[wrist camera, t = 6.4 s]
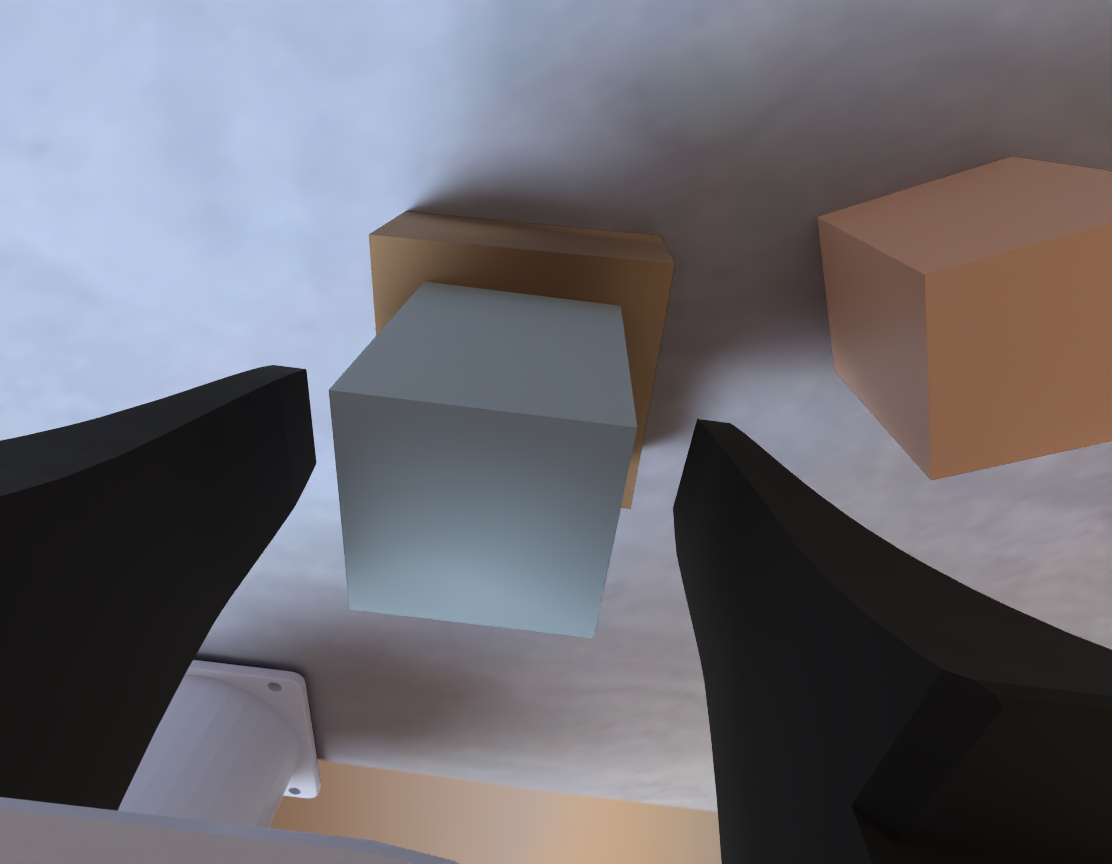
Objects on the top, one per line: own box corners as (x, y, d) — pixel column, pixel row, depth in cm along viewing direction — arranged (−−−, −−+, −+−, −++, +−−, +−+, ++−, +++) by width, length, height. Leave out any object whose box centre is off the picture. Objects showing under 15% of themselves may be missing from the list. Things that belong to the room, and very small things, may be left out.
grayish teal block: (424, 448, 14) (349, 609, 10) (424, 281, 12) (328, 390, 8) (592, 468, 14) (593, 638, 10) (620, 305, 12) (637, 428, 8)
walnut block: (418, 426, 17) (387, 485, 14) (409, 208, 14) (368, 234, 11) (624, 445, 17) (630, 509, 14) (659, 232, 14) (674, 263, 11)
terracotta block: (833, 370, 15) (930, 480, 11) (816, 216, 13) (924, 275, 9) (1003, 326, 14) (1180, 426, 10) (1009, 156, 13) (1229, 189, 8)
